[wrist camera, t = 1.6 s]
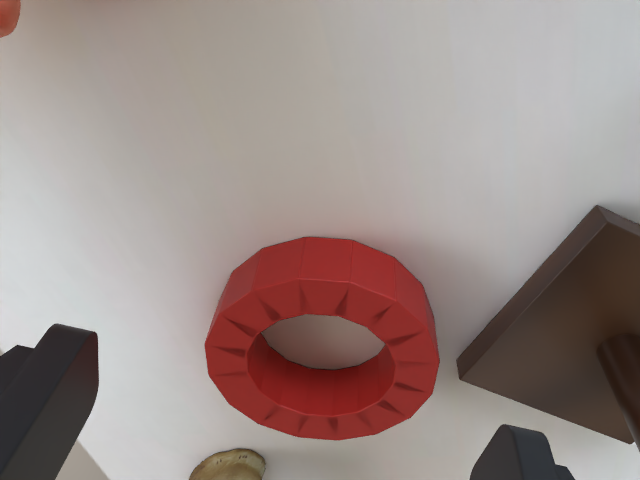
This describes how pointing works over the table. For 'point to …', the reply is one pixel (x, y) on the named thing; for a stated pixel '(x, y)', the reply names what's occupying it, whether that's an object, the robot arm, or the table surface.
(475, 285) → the table surface
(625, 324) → the peg stand
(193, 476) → the chocolate bunny
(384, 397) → the tape roll
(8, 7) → the sugar bowl
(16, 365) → the robot arm
